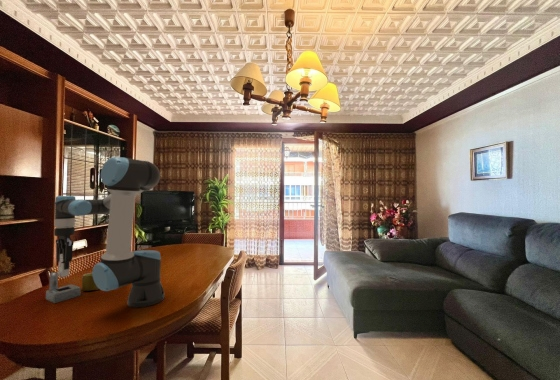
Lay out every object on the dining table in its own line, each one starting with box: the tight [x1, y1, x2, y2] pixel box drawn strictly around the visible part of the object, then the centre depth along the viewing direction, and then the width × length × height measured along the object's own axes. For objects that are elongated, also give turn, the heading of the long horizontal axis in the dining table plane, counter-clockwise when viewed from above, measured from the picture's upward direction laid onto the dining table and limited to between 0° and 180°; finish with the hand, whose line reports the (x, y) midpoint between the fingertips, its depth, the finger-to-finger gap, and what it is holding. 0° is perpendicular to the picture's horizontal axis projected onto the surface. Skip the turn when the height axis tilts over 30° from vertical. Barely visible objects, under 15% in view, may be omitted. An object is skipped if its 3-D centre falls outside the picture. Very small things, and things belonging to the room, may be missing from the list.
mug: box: [81, 272, 100, 292], centre depth 130 cm, size 12×10×10 cm
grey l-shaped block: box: [45, 271, 82, 304], centre depth 120 cm, size 18×10×10 cm, turn 60°
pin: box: [58, 253, 67, 278], centre depth 119 cm, size 3×3×11 cm
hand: (63, 275), depth 119 cm, fingers closed on pin, 3 cm apart
